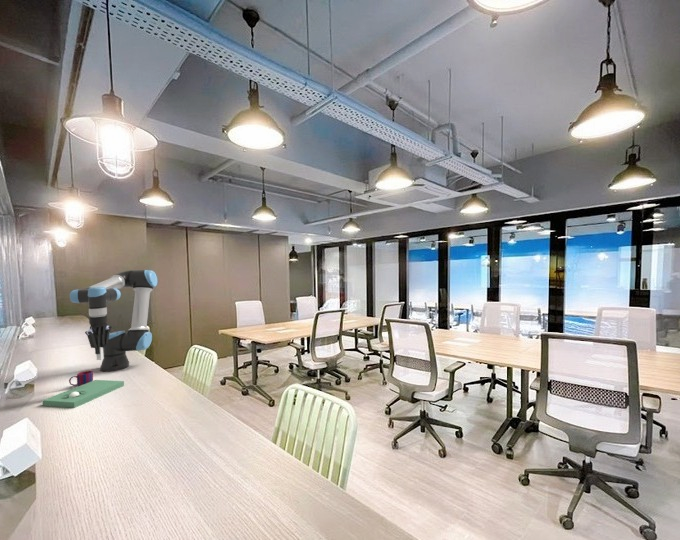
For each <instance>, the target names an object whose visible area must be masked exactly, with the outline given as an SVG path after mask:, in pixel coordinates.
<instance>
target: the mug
mask: <svg viewBox="0 0 680 540" xmlns="http://www.w3.org/2000/svg"><path fill="white" fill-rule="evenodd" d="M73 378H76V384H73V383H72V379H73ZM91 381H94V372H93V370H86V371H81V372H78V373H77V374H76V375H74V376H70V378H69V380H68V383H69V385H71V386H73V387H78V386H81V385H84V384H86V383H89V382H91Z"/></svg>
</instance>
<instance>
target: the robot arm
mask: <svg viewBox="0 0 680 540" xmlns="http://www.w3.org/2000/svg"><path fill="white" fill-rule="evenodd" d="M157 285H158V276H157V275H156V272H155V271H154V270H150V269H143V270H124V271H122V272H119V273H116V274H114V275H111V276H110V277H109V278H107V279H105V280H103V281H100V282H98V283H95V284H93V285H91V286H87V287H85V288H82V289H73V290H72V291H70V293H69V300H70V302H71V303H72V304H73V303H74V304H87V303H88V315H89V317H88V323H89V325H90V326H89V329H88V330H86V331H85V332H84V334H85V335H86V336H87V338H88V339H87V340H88V342H89V345H90V348H91V349H94V353H95V356H96V360H97V361H102V362H101V364H100V367H99V370H100V372H115V371H119V370H120V371H121V370H124V369H125V368H129V366H130V361H129V359H128V356H127V353H126V352H137V351H138V352H139V351H145V350H147V349H149V347H150V345H151V343H152V341H153V334H152V332H151V331H150V330H149V328H148V327H147V326H148V318H149V305H150V297H151V293H152V292H153V290H154V288H155V287H157ZM123 288H132V291H134V301H133V306H132V307H133V309H132V315H131V318H132V319H131V325H130V328H128V330H127V332H126V331H125V330H118V331H117V330H116V331H113V332H111V330H112V326H110V325H108V324H107V323H108V315H107V314H108V307H107V305H108V303H112V302H115V301H118V300H120V298H121V296H122V293H121V291H120V289H123Z"/></svg>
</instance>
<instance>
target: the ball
mask: <svg viewBox="0 0 680 540" xmlns="http://www.w3.org/2000/svg"><path fill="white" fill-rule="evenodd" d="M78 395H80V394H79V392H72V393H71V394H70V395H69V398H70V397H75V396H78Z"/></svg>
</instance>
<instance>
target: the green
mask: <svg viewBox="0 0 680 540" xmlns="http://www.w3.org/2000/svg"><path fill="white" fill-rule="evenodd" d="M124 386H125V381H124V380H107V379H93V381H91V382H89V383H86V384H84V385H81V386H78V387H77V386H75V387H73V388H71V389H67V390H66V391H63V392H60V393H58V394H55V395H52V396H50V397H48V398H45V399H43V400H42V401H41V402H42V403H41V404H42V406H44V407H56V408H71V409H72V408H73V409H75V408H77V407H80V406H82V405H84V404H86V402H87V403H89V402H91V401H92V400H94V399H97V398H99V397H102V396H104V395H107V394H109V393H111V392H113V391H115V390H117V389H120V388H122V387H124ZM72 392H79V394H80V395H78V396H75V397H70V398H69V395H70V394H71V393H72Z"/></svg>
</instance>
